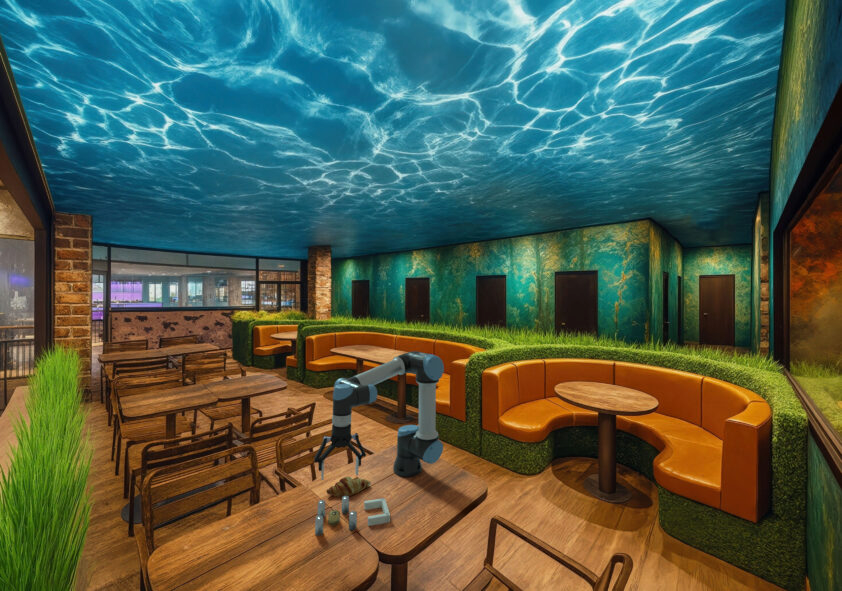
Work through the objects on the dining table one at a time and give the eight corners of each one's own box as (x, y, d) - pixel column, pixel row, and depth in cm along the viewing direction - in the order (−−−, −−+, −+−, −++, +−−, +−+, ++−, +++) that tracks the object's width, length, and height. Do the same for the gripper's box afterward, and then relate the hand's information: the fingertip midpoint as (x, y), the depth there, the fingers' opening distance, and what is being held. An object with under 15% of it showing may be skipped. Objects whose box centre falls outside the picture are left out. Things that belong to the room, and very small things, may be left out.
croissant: (367, 490, 172) (366, 472, 175) (374, 490, 164) (372, 471, 167) (324, 500, 162) (323, 481, 165) (329, 500, 154) (328, 480, 157)
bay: (364, 507, 152) (364, 501, 152) (384, 504, 155) (384, 498, 155) (368, 526, 141) (368, 518, 141) (389, 522, 143) (390, 515, 143)
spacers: (315, 514, 147) (315, 500, 147) (353, 508, 152) (353, 494, 152) (315, 537, 134) (315, 521, 134) (356, 529, 138) (357, 515, 138)
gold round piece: (328, 519, 144) (328, 510, 144) (339, 517, 145) (339, 509, 145) (328, 526, 140) (328, 517, 140) (340, 524, 141) (340, 516, 141)
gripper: (309, 430, 132) (307, 485, 132) (374, 424, 140) (372, 476, 140) (309, 422, 139) (307, 475, 139) (370, 417, 147) (368, 467, 147)
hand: (339, 476), depth 139 cm, fingers open, 13 cm apart
